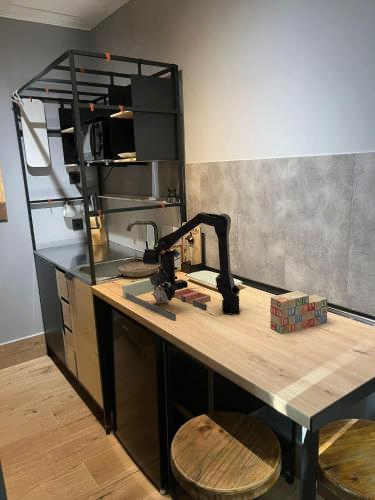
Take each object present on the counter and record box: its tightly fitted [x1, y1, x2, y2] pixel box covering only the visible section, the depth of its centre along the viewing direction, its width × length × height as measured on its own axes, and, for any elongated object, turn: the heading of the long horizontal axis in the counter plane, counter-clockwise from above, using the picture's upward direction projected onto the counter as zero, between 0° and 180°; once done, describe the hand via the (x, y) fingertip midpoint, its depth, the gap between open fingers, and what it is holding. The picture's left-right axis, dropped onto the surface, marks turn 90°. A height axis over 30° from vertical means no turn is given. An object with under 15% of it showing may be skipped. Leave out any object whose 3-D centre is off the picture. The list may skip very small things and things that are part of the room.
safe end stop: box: [121, 277, 154, 299], centre depth 178 cm, size 2×17×6 cm, turn 129°
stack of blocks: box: [269, 290, 328, 335], centre depth 135 cm, size 21×6×12 cm, turn 116°
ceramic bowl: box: [117, 261, 160, 278], centre depth 213 cm, size 23×24×5 cm
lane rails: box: [125, 286, 208, 322], centre depth 163 cm, size 38×17×2 cm, turn 39°
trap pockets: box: [174, 287, 212, 306], centre depth 168 cm, size 16×9×2 cm, turn 39°
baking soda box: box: [162, 243, 184, 273], centre depth 216 cm, size 10×6×16 cm
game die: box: [150, 286, 169, 305], centre depth 164 cm, size 9×8×10 cm
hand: (169, 300), depth 159 cm, fingers closed
